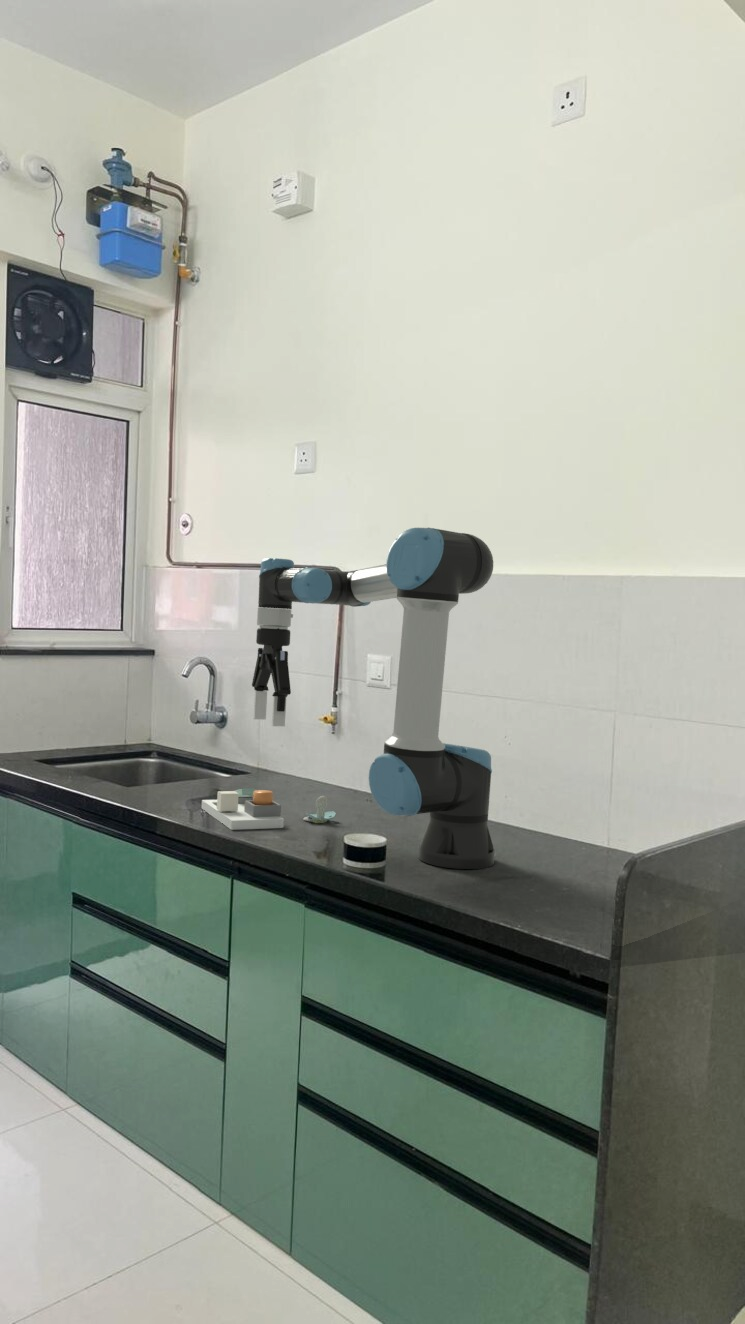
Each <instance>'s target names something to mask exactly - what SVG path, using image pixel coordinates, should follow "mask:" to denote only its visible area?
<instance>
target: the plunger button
mask: <svg viewBox="0 0 745 1324" xmlns="http://www.w3.org/2000/svg"><path fill="white" fill-rule="evenodd" d="M252 797H253V804H254V805H273V801H274V791H272V790H267V789H266V790H265V789H264V790H263V789H258V790H257V789H256V791H254V795H252Z"/></svg>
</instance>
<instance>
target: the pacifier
mask: <svg viewBox="0 0 745 1324" xmlns="http://www.w3.org/2000/svg"><path fill="white" fill-rule="evenodd" d="M328 801H329V800H328V798H327V797H326V796H325V795H320V796H319V797H318V798H317V799H316V801H315V808H316V813H314V814H313V813H307V812H306V813H305V815H306V816H304V818H303V821H307V822H310V823H311V822H312V823H314V824H316V823H317V824H324V823H327V822H328V821H329V820H332V819H334V818H335V817H336V813H337V812H335V811H334V810H333V811H326V807H327V806H328Z"/></svg>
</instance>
